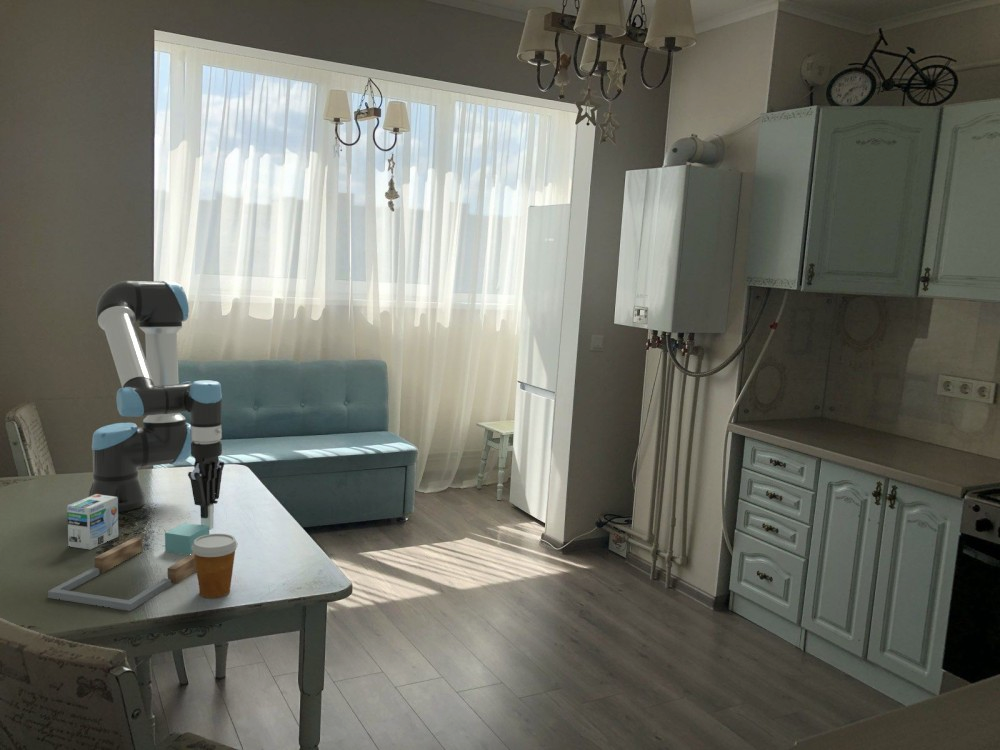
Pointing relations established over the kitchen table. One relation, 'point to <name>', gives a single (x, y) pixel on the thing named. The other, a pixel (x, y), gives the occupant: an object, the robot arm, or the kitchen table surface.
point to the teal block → (184, 537)
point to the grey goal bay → (67, 595)
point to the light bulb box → (92, 521)
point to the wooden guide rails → (135, 547)
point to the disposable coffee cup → (214, 563)
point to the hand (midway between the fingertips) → (207, 528)
